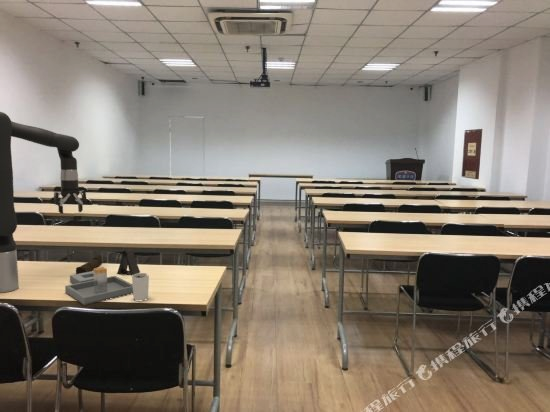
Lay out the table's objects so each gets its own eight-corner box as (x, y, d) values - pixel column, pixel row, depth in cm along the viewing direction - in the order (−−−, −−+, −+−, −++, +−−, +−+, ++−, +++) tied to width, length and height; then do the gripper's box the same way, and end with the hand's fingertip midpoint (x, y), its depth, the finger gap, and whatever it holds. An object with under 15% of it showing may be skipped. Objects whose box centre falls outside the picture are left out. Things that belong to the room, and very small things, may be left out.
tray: (84, 305, 170) (83, 298, 170) (65, 292, 184) (65, 285, 184) (136, 292, 186) (136, 286, 185) (115, 282, 200) (115, 275, 199)
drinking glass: (129, 300, 176) (128, 277, 175) (137, 295, 183) (136, 272, 181) (144, 302, 175) (144, 278, 174) (152, 296, 182) (151, 273, 180)
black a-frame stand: (139, 272, 216) (139, 248, 214) (133, 275, 210) (133, 251, 208) (123, 270, 218) (122, 247, 216) (116, 274, 212) (116, 250, 210)
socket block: (80, 287, 191) (80, 281, 190) (70, 281, 199) (69, 275, 199) (107, 282, 199) (106, 276, 199) (96, 276, 207) (95, 270, 207)
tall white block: (98, 293, 182) (97, 270, 181) (94, 291, 185) (93, 268, 184) (107, 291, 185) (106, 268, 184) (103, 289, 188) (102, 266, 187)
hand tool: (85, 276, 208) (84, 265, 207) (75, 276, 208) (75, 264, 208) (107, 264, 230) (107, 254, 230) (99, 263, 231) (98, 253, 230)
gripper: (56, 180, 198) (58, 215, 200) (87, 179, 208) (89, 212, 210) (50, 179, 203) (52, 213, 205) (81, 178, 213) (82, 210, 215)
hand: (70, 212), depth 208 cm, fingers open, 8 cm apart
